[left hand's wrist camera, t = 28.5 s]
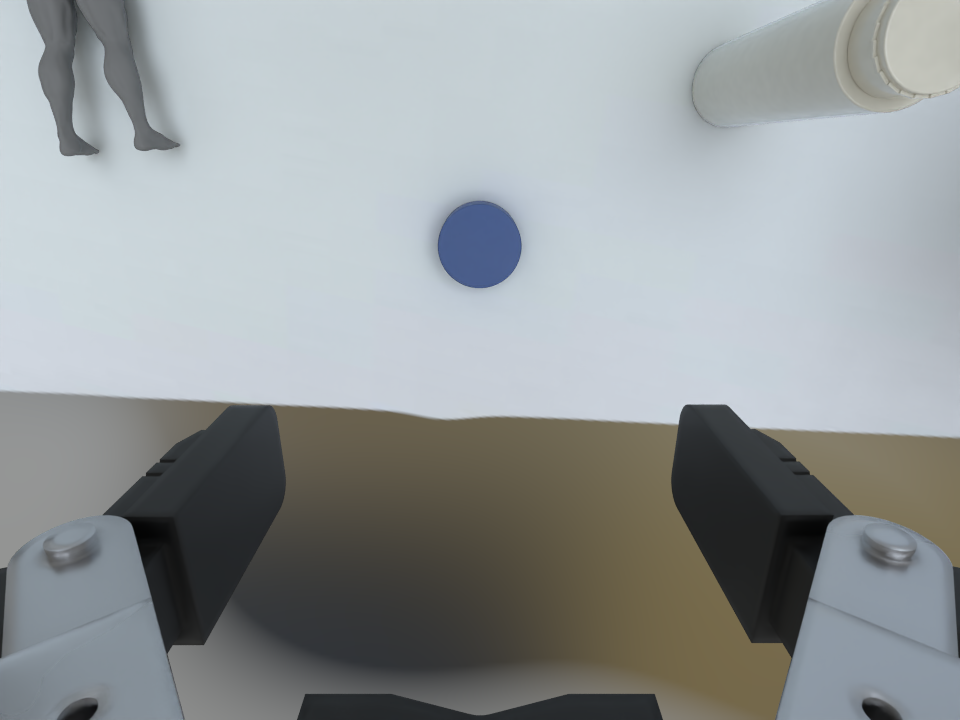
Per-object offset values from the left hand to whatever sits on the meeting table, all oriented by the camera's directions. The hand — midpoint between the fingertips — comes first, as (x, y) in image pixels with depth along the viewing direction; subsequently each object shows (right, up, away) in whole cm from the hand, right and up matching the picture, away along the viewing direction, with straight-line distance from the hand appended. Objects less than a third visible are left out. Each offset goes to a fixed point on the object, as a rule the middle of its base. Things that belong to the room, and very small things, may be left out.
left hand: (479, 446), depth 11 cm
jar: (+15, +18, +22) cm, 32 cm away
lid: (0, +9, +23) cm, 25 cm away
